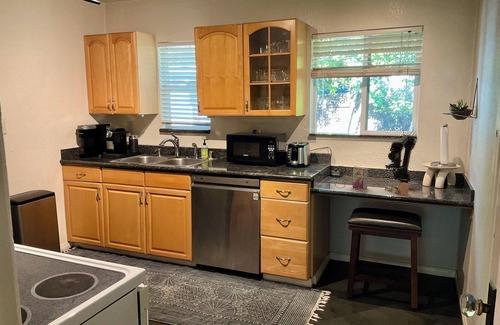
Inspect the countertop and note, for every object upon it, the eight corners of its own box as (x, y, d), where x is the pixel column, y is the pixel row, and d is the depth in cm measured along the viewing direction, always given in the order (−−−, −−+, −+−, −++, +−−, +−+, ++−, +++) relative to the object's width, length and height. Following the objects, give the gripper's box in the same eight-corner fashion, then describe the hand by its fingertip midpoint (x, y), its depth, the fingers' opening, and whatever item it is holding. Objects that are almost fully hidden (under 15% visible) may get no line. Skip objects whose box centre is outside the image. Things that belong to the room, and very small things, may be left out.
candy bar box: (352, 187, 315) (352, 166, 313) (356, 186, 318) (357, 166, 315) (362, 189, 306) (363, 168, 303) (367, 189, 308) (368, 168, 306)
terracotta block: (397, 193, 289) (398, 182, 288) (403, 193, 291) (404, 182, 289) (402, 195, 285) (402, 184, 283) (408, 194, 286) (408, 183, 285)
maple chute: (384, 190, 303) (385, 185, 302) (394, 190, 305) (394, 185, 304) (397, 195, 287) (397, 190, 287) (407, 194, 289) (407, 189, 289)
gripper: (380, 157, 300) (379, 177, 302) (394, 160, 282) (393, 182, 284) (393, 156, 303) (392, 177, 305) (408, 160, 285) (407, 181, 287)
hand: (395, 179), depth 295 cm, fingers closed
